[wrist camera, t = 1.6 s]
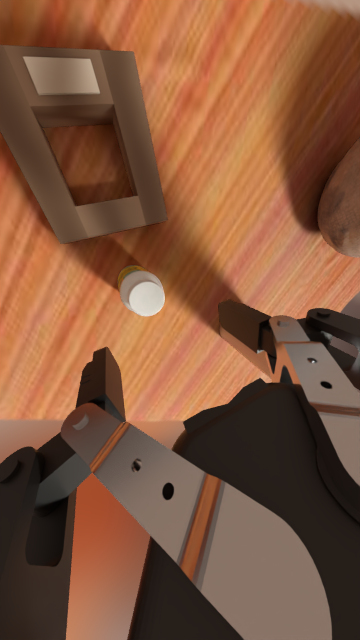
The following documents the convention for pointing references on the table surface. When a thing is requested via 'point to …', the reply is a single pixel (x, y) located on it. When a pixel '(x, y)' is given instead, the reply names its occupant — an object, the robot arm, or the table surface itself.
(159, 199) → the socket holder
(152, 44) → the table surface
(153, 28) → the table surface
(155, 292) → the supplement bottle
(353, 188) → the ceramic bowl
